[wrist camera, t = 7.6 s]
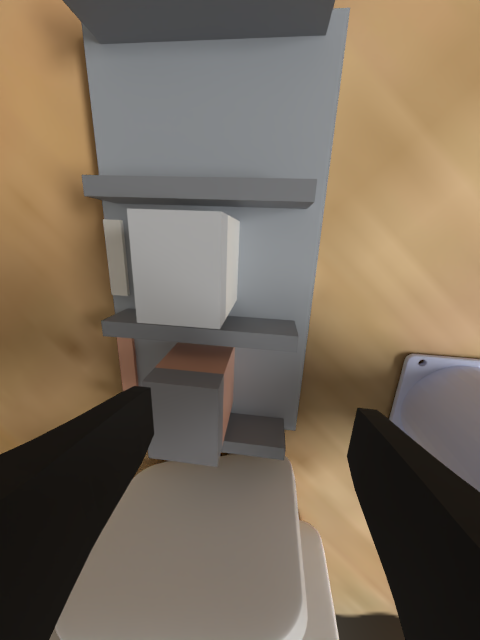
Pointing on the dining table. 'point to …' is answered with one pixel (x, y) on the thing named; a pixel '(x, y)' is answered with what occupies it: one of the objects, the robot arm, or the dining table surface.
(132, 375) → the grey tiered rack
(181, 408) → the brown and grey box
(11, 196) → the dining table surface
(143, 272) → the grey rectangular block
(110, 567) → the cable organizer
